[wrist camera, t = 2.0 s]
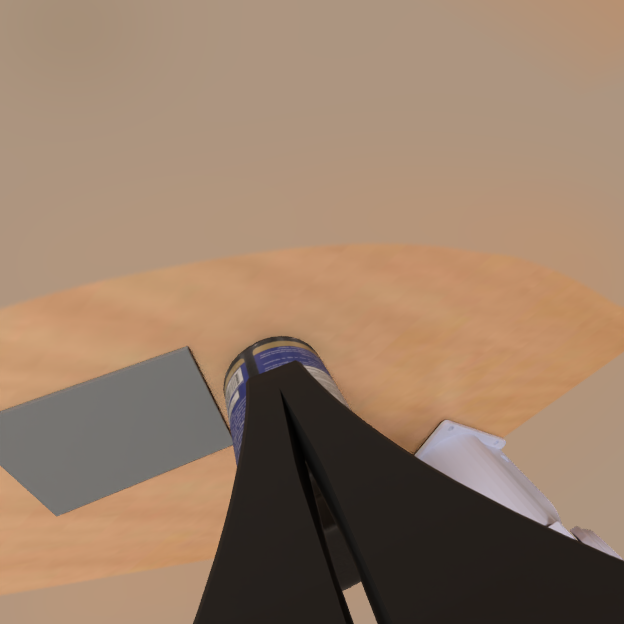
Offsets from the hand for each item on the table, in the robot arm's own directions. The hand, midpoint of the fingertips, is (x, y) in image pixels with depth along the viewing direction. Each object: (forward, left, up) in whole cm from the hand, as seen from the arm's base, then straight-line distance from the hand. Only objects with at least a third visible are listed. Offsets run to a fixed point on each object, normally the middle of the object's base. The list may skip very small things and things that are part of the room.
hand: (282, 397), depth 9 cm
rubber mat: (+1, +12, -10) cm, 16 cm away
